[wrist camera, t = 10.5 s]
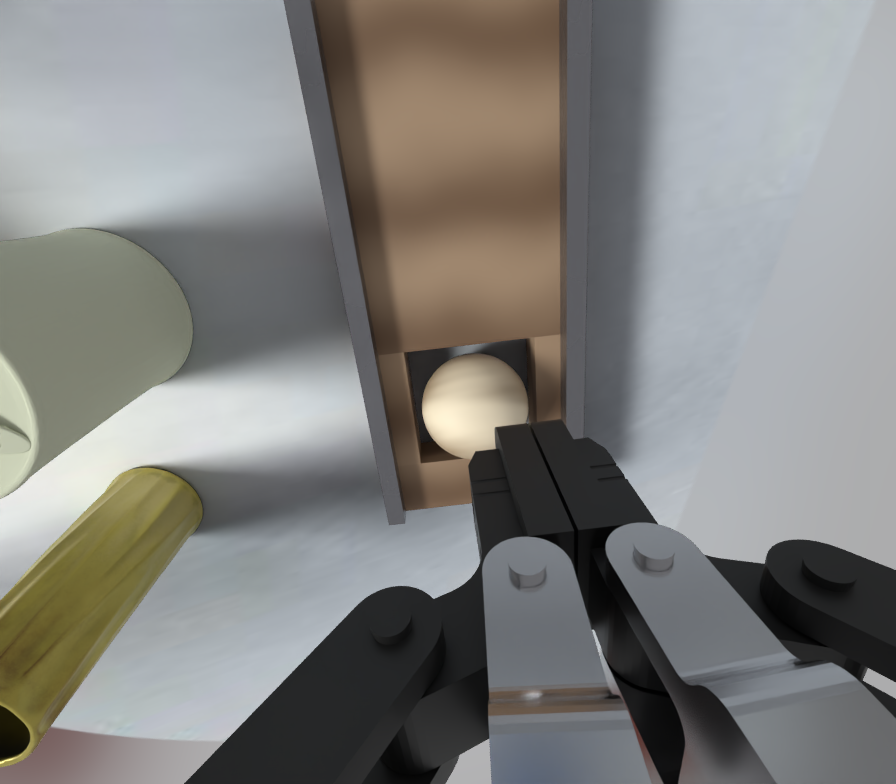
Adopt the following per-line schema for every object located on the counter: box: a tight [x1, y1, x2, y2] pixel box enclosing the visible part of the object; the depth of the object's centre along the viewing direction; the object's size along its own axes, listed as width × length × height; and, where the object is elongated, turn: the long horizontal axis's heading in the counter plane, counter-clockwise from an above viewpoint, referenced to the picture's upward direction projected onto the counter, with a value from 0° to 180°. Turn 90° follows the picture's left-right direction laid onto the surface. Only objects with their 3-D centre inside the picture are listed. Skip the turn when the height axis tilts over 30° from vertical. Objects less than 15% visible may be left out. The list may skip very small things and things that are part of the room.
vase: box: [0, 468, 203, 767], centre depth 24 cm, size 6×6×14 cm
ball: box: [422, 353, 528, 459], centre depth 26 cm, size 6×6×6 cm
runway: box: [284, 0, 593, 525], centre depth 24 cm, size 26×12×4 cm, turn 6°
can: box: [0, 228, 193, 499], centre depth 20 cm, size 9×9×12 cm
